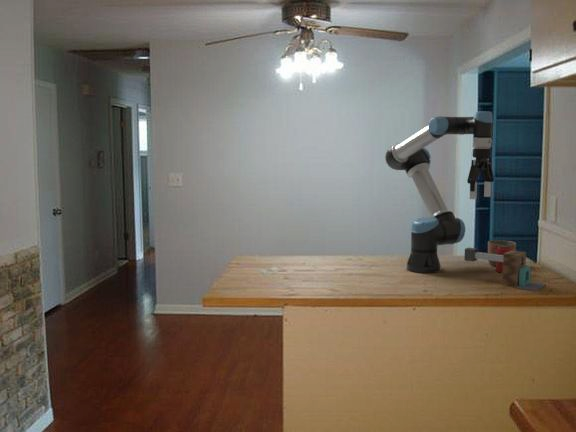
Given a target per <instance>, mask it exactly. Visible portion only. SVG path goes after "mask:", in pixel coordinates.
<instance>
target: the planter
mask: <svg viewBox="0 0 576 432" xmlns="http://www.w3.org/2000/svg"><path fill="white" fill-rule="evenodd" d="M501 244H504V245H511V248H512V250H513V251H516V250H517V249H516V247H517V243H516V242H515V241H512V240H502V239H500V240H498V239H494V240H488V241H487V253H490V254H497V248H498V245H501ZM487 261H488V263H489V264H490V265H491V266H493V267H496V261H491V260H487Z"/></svg>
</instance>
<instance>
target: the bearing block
mask: <svg viewBox="0 0 576 432" xmlns="http://www.w3.org/2000/svg"><path fill="white" fill-rule="evenodd" d="M521 257H522V263H521ZM526 261H527V252H526V251H521V250H515V251H513V250H511V251H509V252H506V253H504V256H503V273H502V280H501V281H502V283H501V285H502V286H506V287H513V288H517V286H519V271H520V268H522V267H524V266H527V265H526V263H527V262H526Z"/></svg>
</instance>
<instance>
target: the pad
mask: <svg viewBox="0 0 576 432" xmlns="http://www.w3.org/2000/svg"><path fill="white" fill-rule="evenodd" d="M546 286H547V283H543V282H542V283H541V282H535V281H530V283H529V284H527V285H525V286H517V287H516V288H517V289H518V290H519V289H520V290H526V291H531V292H539V291H540V290H541V289H543V288H544V287H546Z"/></svg>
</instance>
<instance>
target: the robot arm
mask: <svg viewBox="0 0 576 432" xmlns="http://www.w3.org/2000/svg"><path fill="white" fill-rule="evenodd" d="M493 119H494V118H493V113H492V111H490V110H487V111H486V110H485V111H483V110H482V111H475V112H474V113H473V116H442V115H441V116H433V117H431V118H430V119H429V121H428V125H426V126H425V127H423V128H422V129H420V130H418V131H417V132H416V133H413V134H412V135H411V136H409V137H407V138H406V139H405V140H403V141H401V142H397V143H395V144H393V145H392V146H390V147H389V148H388V149H387V150H386V152H385V157H384V159H385V163H386V164H387V165H388V167H390V169H392V170H394V171H405V173H406V175H407V177H408V178H412V180H413V182H414V185H415V187H416V189H417V191H418V193H419V195H420V197H421V200H422V201H423V203H424V206H425V208H426V210H427V213H428V214H429V216H427V217H420V218H416V219H414V220H413V221H412V222H411V228H410V231H411V237H410V238H411V239H410V243H411V244H410V254H409V256H408V260H407V263H406V270H407V271H410V272H414V273H421V274H424V273H425V274H429V273H439V272H440V271H441V270H442V269H441V261H440V259H439V255H438V246H444V245H454V244H457V243H460V242H461V241H462V240H464V237H465V233H466V225H465V222H464V220H463V219H461V218H458V217H456V216H455V214H454V212H453V211H451V210H449V209H448V208H447V205H446V203H445V201H444V199H443V196H441V193H440V191H439V189H438V187H437V184H436V183H435V181H434V179H433V177H432V175H431V173H430V164H431V163H432V162H431V154H430V152H429V150H428V149H427V148H426V147H427V146H429V145H431V144H433V143H434V142H435V141H437V140H439V139H440V138H442V137H445V136H446V135H459V136H460V135H462V136H463V135H473V136H472V147H473V149H472V158H475V159H472V160H471V162H470V163H471V165H470V169H469V173H468V176H467V180H466V181H467V184H469V200H477V193H478V191H477V190H478V183H477V181H478V178H479V176H480V173H481V172H482V174H483V178H484V180H485V181H484V182H483V183H484V185H483V186H484V188H483V191H484V193H483V197H484V198H486V197H487V198H490V197H492V195H491V193H492V183H493V182H494V180H495V178H494V171H493V166H492V165H493V164H492V159H491V157H492V143H493V140H492V139H493V138H492V137H493V136H492V135H493V134H492V133H493V122H494V121H493Z"/></svg>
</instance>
